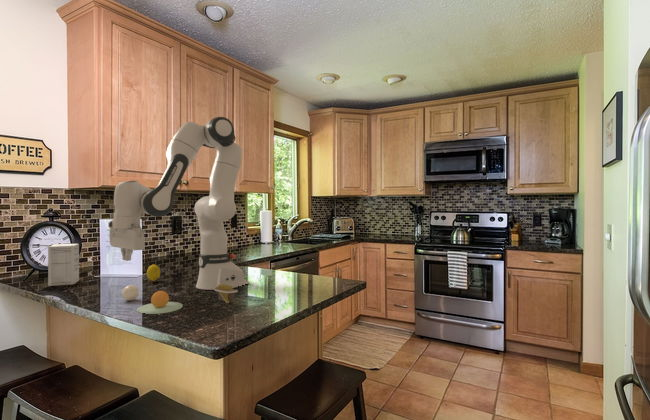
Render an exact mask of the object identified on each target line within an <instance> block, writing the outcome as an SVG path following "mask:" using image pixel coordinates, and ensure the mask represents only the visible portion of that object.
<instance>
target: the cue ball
mask: <svg viewBox="0 0 650 420" xmlns="http://www.w3.org/2000/svg"><path fill="white" fill-rule="evenodd" d="M139 295H140V290H139V287H137V286H136V285H134V284H129V285H127V286H125V287H124V288H123V289H122V291H121V297H122V299H124V300H126V301H127V302H128V301H129V302H130V301H134V300H136V299H137V298H138V296H139Z"/></svg>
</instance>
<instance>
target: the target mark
mask: <svg viewBox="0 0 650 420" xmlns="http://www.w3.org/2000/svg"><path fill="white" fill-rule="evenodd" d="M183 307H184V306H183V303H180V302H177V301H168V303H167V304H166V305H165V306H164V307H159V308H158V307H155V306H153V304H152V303H147V304H143V305H141V306H138V307H137V309H136V312H137V313H140V314H143V313H145V315H160V314H169V313H172V312H176V311H178V310H180V309H182V308H183Z"/></svg>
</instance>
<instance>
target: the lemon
mask: <svg viewBox="0 0 650 420" xmlns="http://www.w3.org/2000/svg"><path fill="white" fill-rule="evenodd" d="M160 277H161V269H160V267H159V265H156V264H155V263H153V264H151V265H149V266H148V268H147V270H146V278H147V279H148V280H150V281H151V282H152V283H154V282H155V281H156V280H158V279H159V278H160Z"/></svg>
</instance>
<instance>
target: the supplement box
mask: <svg viewBox="0 0 650 420" xmlns="http://www.w3.org/2000/svg"><path fill="white" fill-rule="evenodd" d="M47 254H48V255H47V256H48V258H47V270H48V275H47V278H48V279H47V285H48V287H52V286H54V287H55V286H69V285H75V284H76V283H77V282H79V281H80V244H79V243H58V244H52V245H48V246H47Z"/></svg>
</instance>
